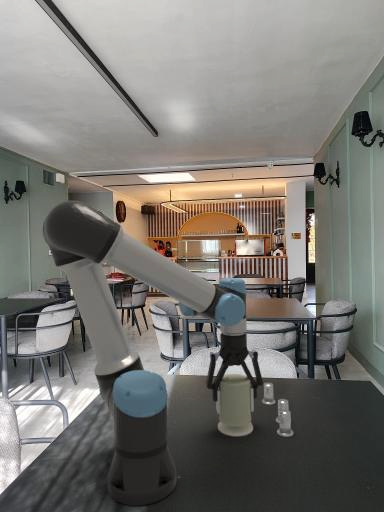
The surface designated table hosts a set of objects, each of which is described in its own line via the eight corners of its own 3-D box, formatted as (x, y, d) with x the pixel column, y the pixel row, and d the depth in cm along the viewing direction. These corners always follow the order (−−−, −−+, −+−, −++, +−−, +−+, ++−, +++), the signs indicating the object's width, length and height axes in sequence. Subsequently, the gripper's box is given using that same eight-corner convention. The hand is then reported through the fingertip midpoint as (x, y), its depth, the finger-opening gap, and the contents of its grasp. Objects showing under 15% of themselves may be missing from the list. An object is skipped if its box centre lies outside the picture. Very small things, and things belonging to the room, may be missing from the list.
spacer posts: (302, 435, 103) (302, 413, 103) (233, 441, 101) (232, 418, 101) (273, 398, 128) (272, 381, 128) (216, 402, 126) (216, 384, 126)
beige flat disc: (257, 435, 104) (257, 432, 104) (221, 437, 103) (221, 435, 103) (247, 418, 114) (247, 416, 114) (215, 421, 113) (215, 419, 113)
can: (219, 411, 114) (218, 372, 113) (250, 412, 113) (249, 372, 112) (218, 426, 104) (217, 383, 104) (252, 427, 103) (251, 383, 103)
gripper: (266, 328, 113) (267, 402, 113) (194, 331, 110) (196, 407, 111) (274, 333, 105) (275, 413, 106) (197, 337, 103) (199, 419, 104)
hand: (234, 410), depth 108 cm, fingers closed on can, 9 cm apart
